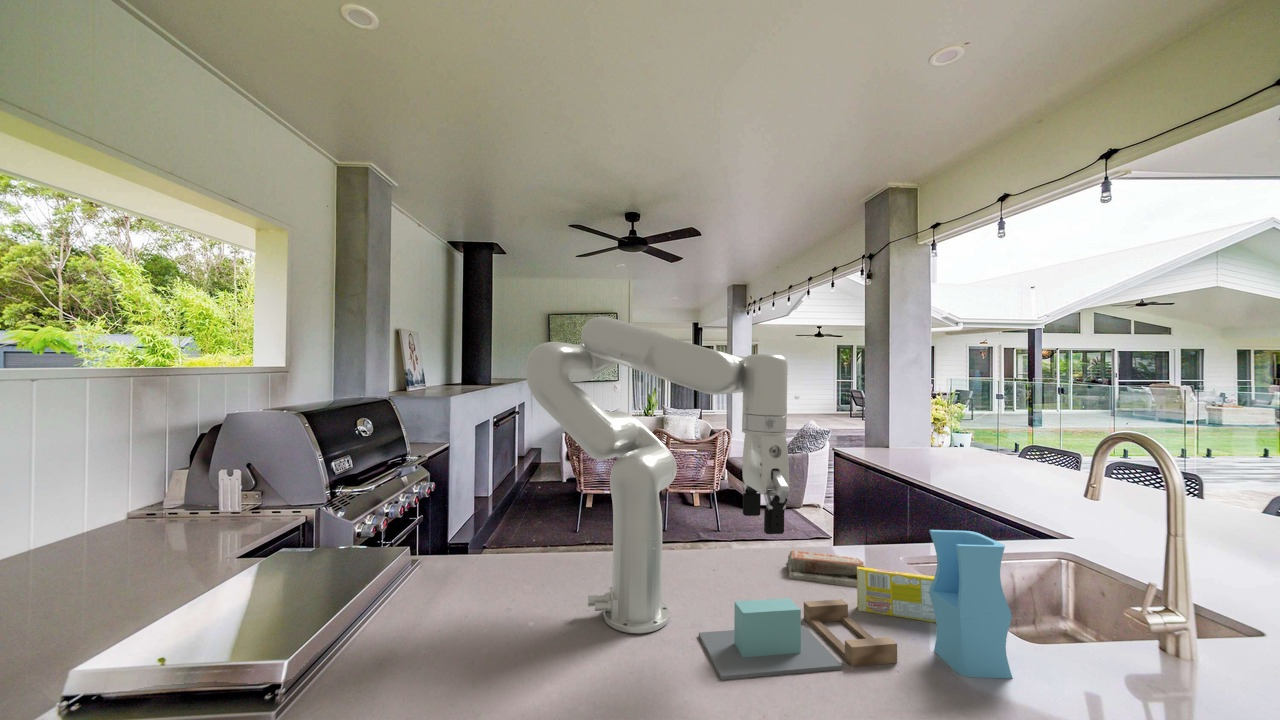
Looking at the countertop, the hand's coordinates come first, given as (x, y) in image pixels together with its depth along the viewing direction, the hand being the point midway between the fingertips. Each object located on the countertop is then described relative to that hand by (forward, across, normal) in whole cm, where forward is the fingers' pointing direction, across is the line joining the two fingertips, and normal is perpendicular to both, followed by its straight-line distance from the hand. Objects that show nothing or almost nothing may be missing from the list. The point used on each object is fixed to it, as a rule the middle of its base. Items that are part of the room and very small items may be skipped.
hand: (762, 523), depth 79 cm
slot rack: (+20, +1, -16) cm, 26 cm away
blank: (+20, -2, -1) cm, 20 cm away
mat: (+21, -2, 0) cm, 21 cm away
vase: (+20, -8, -33) cm, 39 cm away
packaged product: (+21, +26, -28) cm, 44 cm away
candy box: (+21, +7, -32) cm, 39 cm away
